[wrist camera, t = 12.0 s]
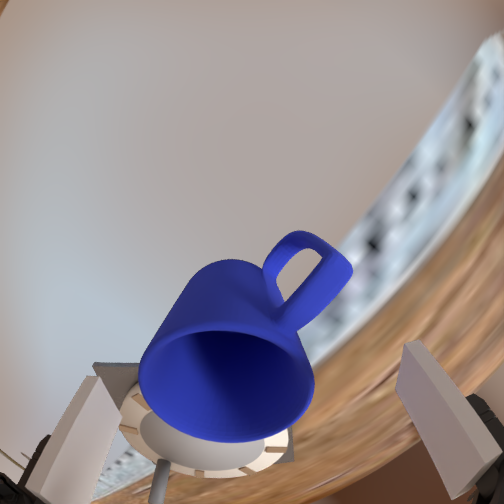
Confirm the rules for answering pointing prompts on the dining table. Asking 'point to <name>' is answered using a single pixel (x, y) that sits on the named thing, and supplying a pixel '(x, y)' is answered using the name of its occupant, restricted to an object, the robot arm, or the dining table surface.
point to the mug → (240, 346)
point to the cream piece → (190, 448)
